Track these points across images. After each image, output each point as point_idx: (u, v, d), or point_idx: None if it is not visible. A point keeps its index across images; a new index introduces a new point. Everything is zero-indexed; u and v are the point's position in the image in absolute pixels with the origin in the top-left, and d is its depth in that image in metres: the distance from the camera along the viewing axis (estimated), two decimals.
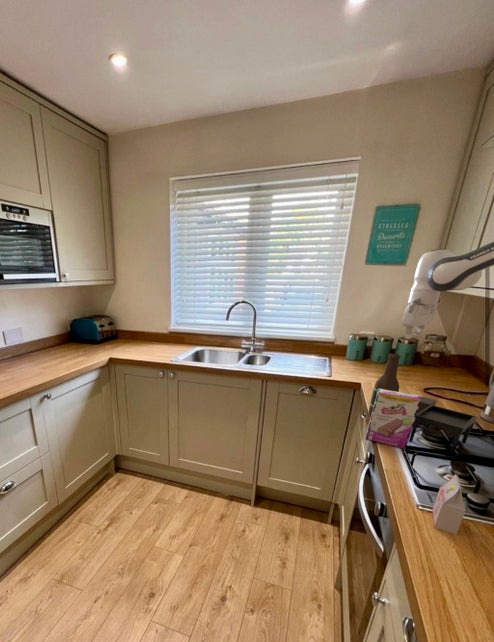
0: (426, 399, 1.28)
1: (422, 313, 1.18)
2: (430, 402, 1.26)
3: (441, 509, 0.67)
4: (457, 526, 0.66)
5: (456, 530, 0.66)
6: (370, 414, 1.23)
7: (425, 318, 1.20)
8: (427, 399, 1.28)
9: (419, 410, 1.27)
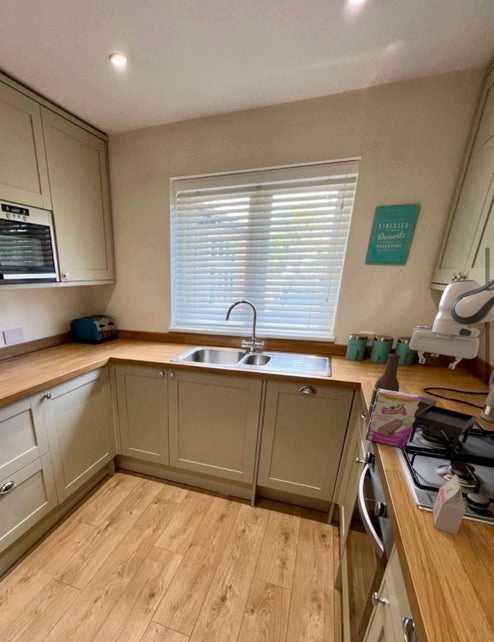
0: (426, 399, 1.28)
1: (435, 341, 1.20)
2: (430, 402, 1.26)
3: (441, 509, 0.67)
4: (457, 526, 0.66)
5: (456, 530, 0.66)
6: (370, 414, 1.23)
7: (444, 348, 1.18)
8: (427, 399, 1.28)
9: (419, 410, 1.27)
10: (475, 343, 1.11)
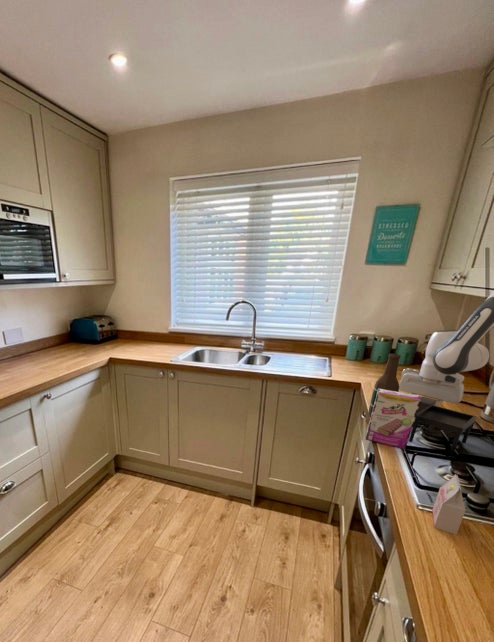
0: (426, 399, 1.28)
1: (423, 384, 1.26)
2: (430, 402, 1.26)
3: (441, 509, 0.67)
4: (457, 526, 0.66)
5: (456, 530, 0.66)
6: (370, 414, 1.23)
7: (431, 392, 1.24)
8: (427, 399, 1.28)
9: (419, 410, 1.27)
10: (460, 389, 1.17)
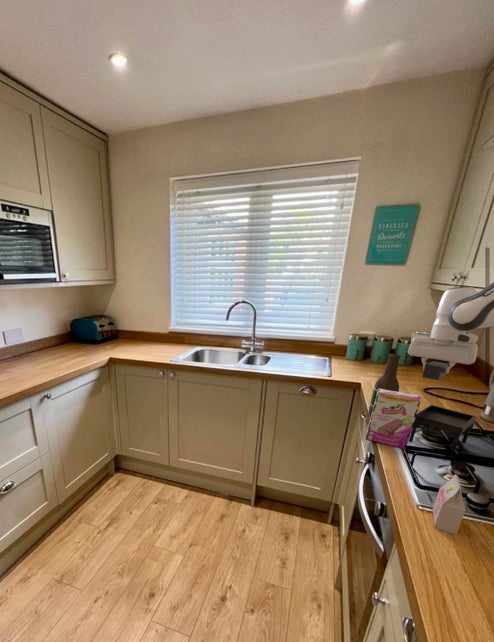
0: (437, 363, 1.23)
1: (434, 347, 1.21)
2: (442, 365, 1.20)
3: (441, 509, 0.67)
4: (457, 526, 0.66)
5: (456, 530, 0.66)
6: (370, 414, 1.23)
7: (443, 354, 1.19)
8: (438, 363, 1.23)
9: (430, 374, 1.21)
10: (473, 349, 1.12)
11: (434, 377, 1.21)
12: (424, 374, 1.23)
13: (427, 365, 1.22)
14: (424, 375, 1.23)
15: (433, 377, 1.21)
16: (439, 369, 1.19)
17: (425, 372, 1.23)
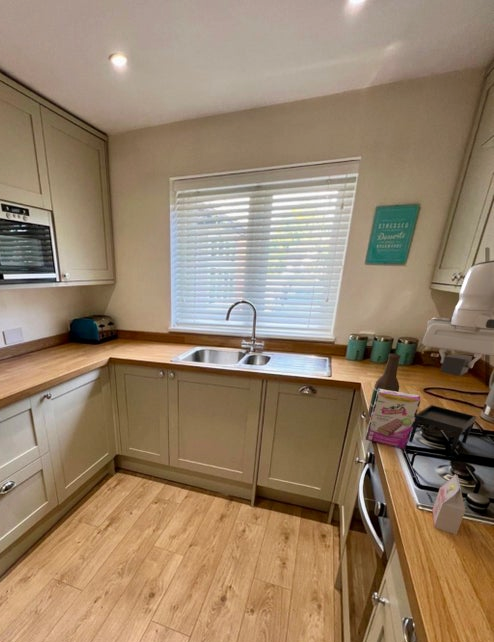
0: (459, 355, 1.02)
1: (455, 335, 0.99)
2: (465, 357, 0.99)
3: (441, 509, 0.67)
4: (457, 526, 0.66)
5: (456, 530, 0.66)
6: (370, 414, 1.23)
7: (466, 344, 0.98)
8: (460, 355, 1.02)
9: (450, 368, 1.00)
10: None
11: (455, 372, 0.99)
12: (443, 369, 1.02)
13: (446, 358, 1.00)
14: (443, 370, 1.02)
15: (453, 372, 1.00)
16: (462, 362, 0.98)
17: (444, 366, 1.01)
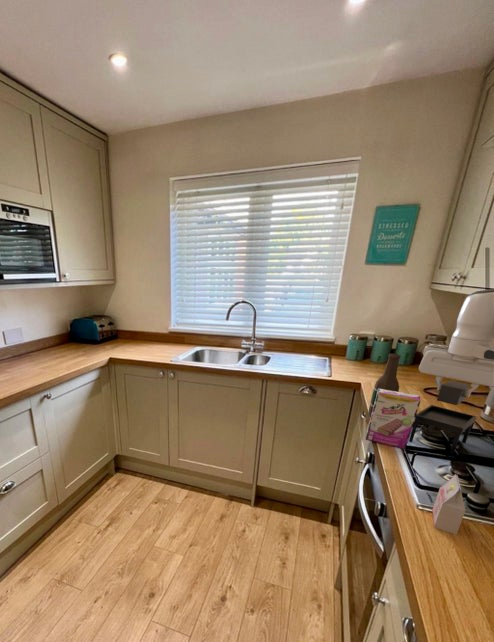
0: (456, 383, 0.99)
1: (452, 364, 0.97)
2: (462, 387, 0.96)
3: (441, 509, 0.67)
4: (457, 526, 0.66)
5: (456, 530, 0.66)
6: (370, 414, 1.23)
7: (463, 373, 0.95)
8: (457, 383, 0.99)
9: (447, 397, 0.97)
10: None
11: (452, 401, 0.97)
12: (439, 397, 0.99)
13: (443, 386, 0.98)
14: (439, 398, 0.99)
15: (450, 401, 0.97)
16: (459, 392, 0.95)
17: (440, 395, 0.99)
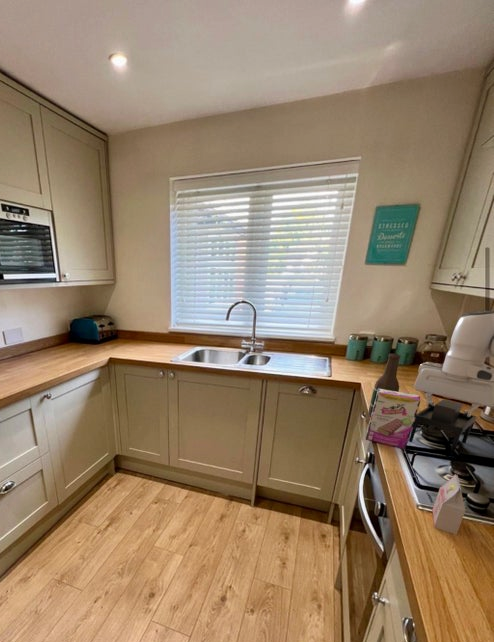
0: (449, 403, 1.02)
1: (446, 382, 0.99)
2: (455, 406, 0.99)
3: (441, 509, 0.67)
4: (457, 526, 0.66)
5: (456, 530, 0.66)
6: (370, 414, 1.23)
7: (457, 392, 0.97)
8: (450, 403, 1.02)
9: (441, 417, 1.00)
10: None
11: (445, 421, 0.99)
12: (433, 416, 1.01)
13: (437, 406, 1.00)
14: (433, 417, 1.01)
15: (443, 421, 0.99)
16: (452, 412, 0.97)
17: (434, 414, 1.01)
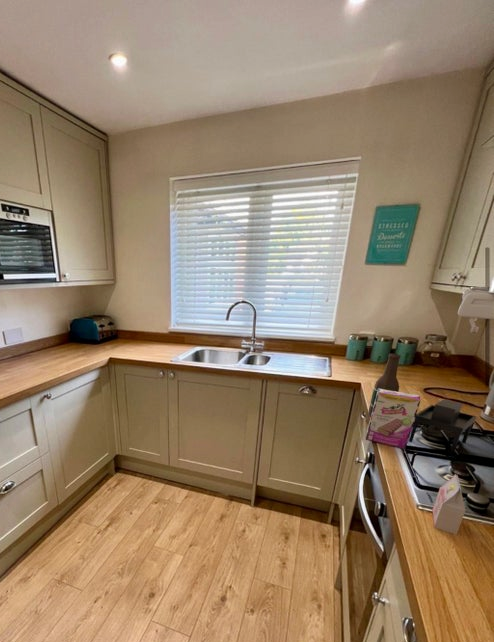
0: (449, 403, 1.02)
1: (493, 304, 0.99)
2: (455, 406, 0.99)
3: (441, 509, 0.67)
4: (457, 526, 0.66)
5: (456, 530, 0.66)
6: (370, 414, 1.23)
7: None
8: (450, 403, 1.02)
9: (441, 417, 1.00)
10: None
11: (445, 421, 0.99)
12: (433, 416, 1.01)
13: (437, 406, 1.00)
14: (433, 417, 1.01)
15: (443, 421, 0.99)
16: (452, 412, 0.97)
17: (434, 414, 1.01)
